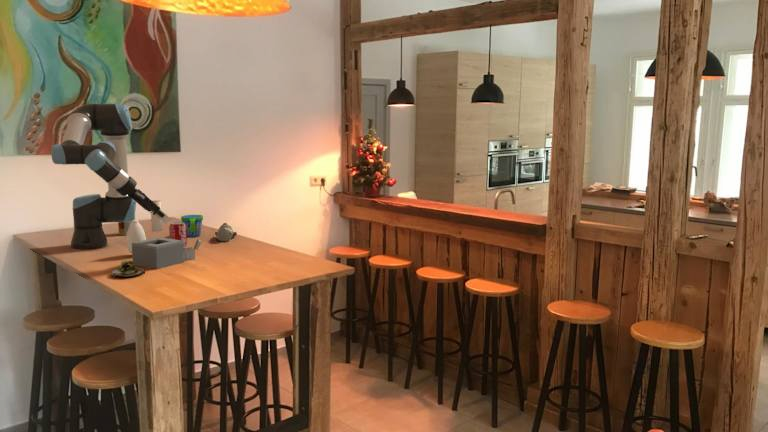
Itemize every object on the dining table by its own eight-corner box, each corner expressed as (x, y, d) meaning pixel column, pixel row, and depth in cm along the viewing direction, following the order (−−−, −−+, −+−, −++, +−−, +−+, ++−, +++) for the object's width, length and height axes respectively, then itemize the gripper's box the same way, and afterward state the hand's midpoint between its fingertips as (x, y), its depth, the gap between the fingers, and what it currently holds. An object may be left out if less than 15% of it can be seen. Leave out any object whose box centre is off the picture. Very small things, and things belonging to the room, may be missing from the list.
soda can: (181, 253, 266) (180, 224, 264) (166, 252, 267) (165, 223, 265) (190, 250, 273) (189, 221, 270) (175, 249, 274) (174, 221, 272)
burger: (111, 280, 222) (110, 261, 221) (111, 273, 232) (110, 254, 231) (146, 277, 227) (145, 258, 225) (144, 270, 237) (143, 251, 236)
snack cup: (183, 233, 311) (182, 213, 310) (204, 232, 314) (204, 213, 312) (180, 239, 296) (179, 218, 295) (202, 238, 298) (201, 218, 297)
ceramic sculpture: (212, 224, 288) (215, 221, 303) (212, 242, 289) (215, 238, 304) (235, 224, 290) (237, 221, 305) (235, 242, 291) (237, 238, 306)
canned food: (130, 231, 312) (128, 209, 311) (138, 233, 308) (137, 210, 306) (115, 234, 306) (114, 210, 304) (124, 236, 302) (123, 212, 300)
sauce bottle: (142, 252, 266) (140, 212, 264) (149, 255, 261) (147, 214, 258) (124, 255, 261) (121, 214, 258) (131, 258, 256) (129, 216, 253)
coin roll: (149, 230, 244) (148, 201, 243) (157, 229, 248) (156, 200, 246) (156, 231, 243) (155, 201, 241) (164, 230, 246) (163, 200, 244)
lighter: (185, 260, 253) (185, 241, 252) (184, 259, 255) (183, 241, 254) (202, 258, 258) (201, 239, 257) (200, 257, 259) (199, 239, 258)
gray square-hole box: (132, 264, 245) (131, 242, 243) (160, 257, 257) (159, 237, 256) (157, 269, 238) (156, 246, 237) (184, 262, 251) (183, 240, 249)
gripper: (108, 187, 239) (151, 224, 252) (123, 192, 226) (168, 230, 240) (121, 173, 241) (164, 211, 255) (137, 177, 229) (180, 216, 242)
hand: (166, 220), depth 247 cm, fingers closed on coin roll, 4 cm apart
